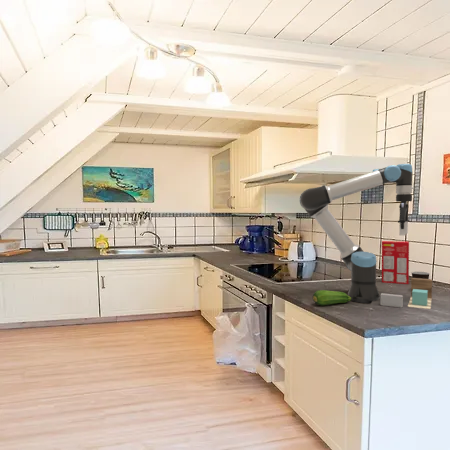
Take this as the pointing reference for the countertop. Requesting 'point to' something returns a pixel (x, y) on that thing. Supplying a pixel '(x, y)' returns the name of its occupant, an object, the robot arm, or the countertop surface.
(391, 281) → the food packaging
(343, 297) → the vegetable
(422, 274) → the coffee mug
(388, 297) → the gray rectangular block
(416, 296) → the teal block
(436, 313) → the countertop surface
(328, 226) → the robot arm
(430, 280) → the wooden l-shaped stand
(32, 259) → the countertop surface
